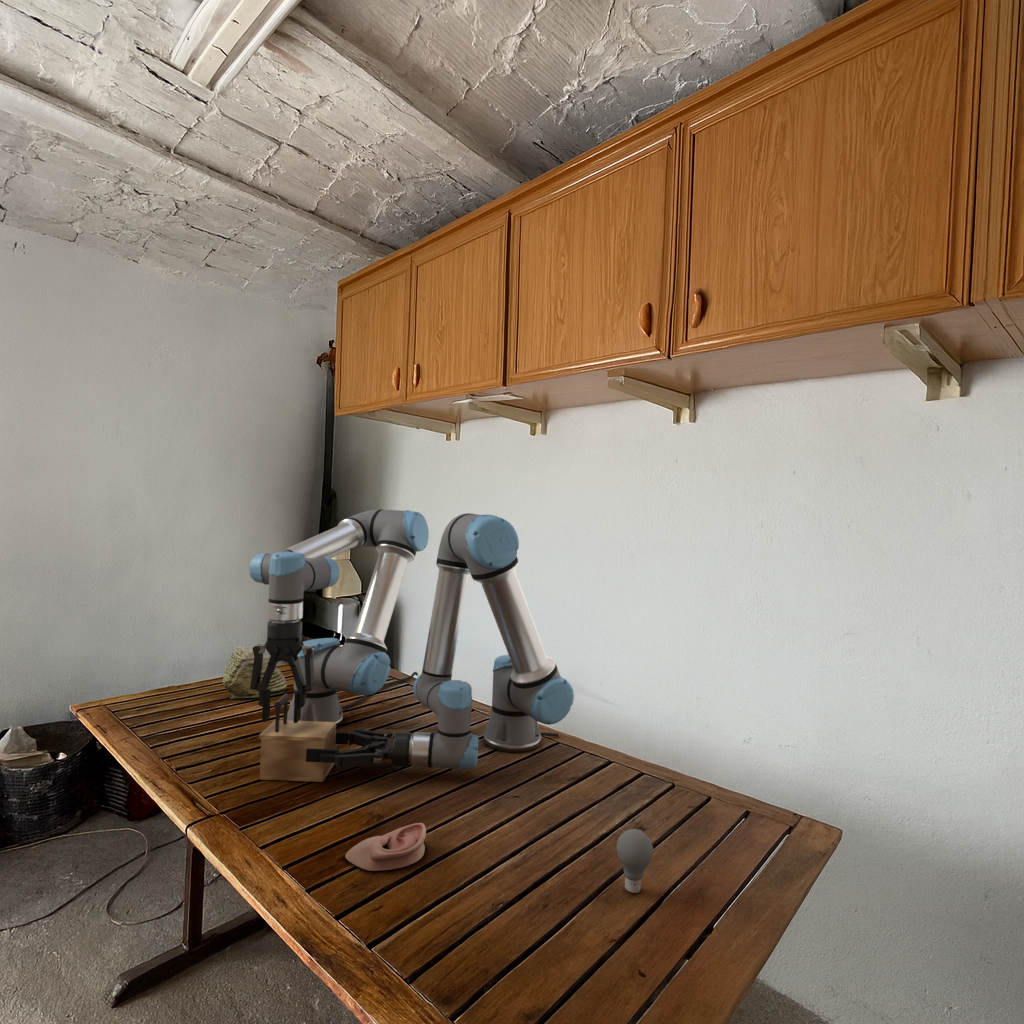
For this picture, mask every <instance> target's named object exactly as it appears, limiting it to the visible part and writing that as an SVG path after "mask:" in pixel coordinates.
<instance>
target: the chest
mask: <svg viewBox="0 0 1024 1024" xmlns="http://www.w3.org/2000/svg"><path fill="white" fill-rule="evenodd" d="M336 732H337V727H335V728H334V729H333V731H332V732H331V733H330V735H329V736H328V737H327V739H326V740H325V741H324V742H322V741H296V740H269V739H260V761H259V763H260V764H259V780H261V781H284V782H285V781H287V782H311V783H312V782H316V783H317V782H318V783H323V782H324V781H325V780H326V778H327V777H328V775H329V773H330V772H331V770H332V769H333V767H334V766H335V765H336V764H335V763H325V762H306V750H307V748H312V749H336V744H335V743H336Z"/></svg>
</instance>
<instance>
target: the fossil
mask: <svg viewBox="0 0 1024 1024" xmlns="http://www.w3.org/2000/svg"><path fill="white" fill-rule="evenodd" d="M269 659H270V655H268V654H267V653H266V651H265V652H264V653H263V663H262V671H261V679H260V683H261V681H262V679H263V676H264V673H265V671H266V668H267V666H268V662H269ZM253 662H254V654H253V648H251V647H247V646H246V647H245V646H238V647H237V648H236V649H235V650H233V651H232V653H231V656H230V657H229V659H228V660H227V663H226V666H225V668H224V671H223V675H222V676H223V677H222V685H223V687H224V688H225V690H226V691H228V693H229V698H230V699H250V698H259V692H258V691H257V690H255V689H251V688H250V686H251V678H252V670H253ZM287 687H288V686H287V680H286V678H285V676H284V674H283V673H282V672H281V669H279V668H278V667H277V666H276V667H275V669H274V672H273V675H272V677H271V680H270V682H269V685H268V688H267V690H271V696H270V697H272V696H275V695H281V694H284V693H285V691H286V689H287Z"/></svg>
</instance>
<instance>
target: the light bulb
mask: <svg viewBox="0 0 1024 1024" xmlns="http://www.w3.org/2000/svg"><path fill="white" fill-rule="evenodd" d="M615 849H616V854H617V857H618V859H619V861H620V863H621V865H622V867H623V873H624V874H623V875H624V876H625V878H624V888H625V890H627V891H628V892H630V893H634V894H635V893H639V892H640V891H641V889H642V887H641V886H642V879H643V877H644V875H645V871H646V868H647V867H648V866H649V864H650V863H651V861H652V859H653V855H654V847H653V843H652V841H651V838H649V836H648V835H647V834H646V833H645V832H643V831H642V830H641V829H636V828H629V829H627V830H625V831H623V832H622V833H621V834H620V835H619V837H618V839H617V841H616V847H615Z"/></svg>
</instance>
